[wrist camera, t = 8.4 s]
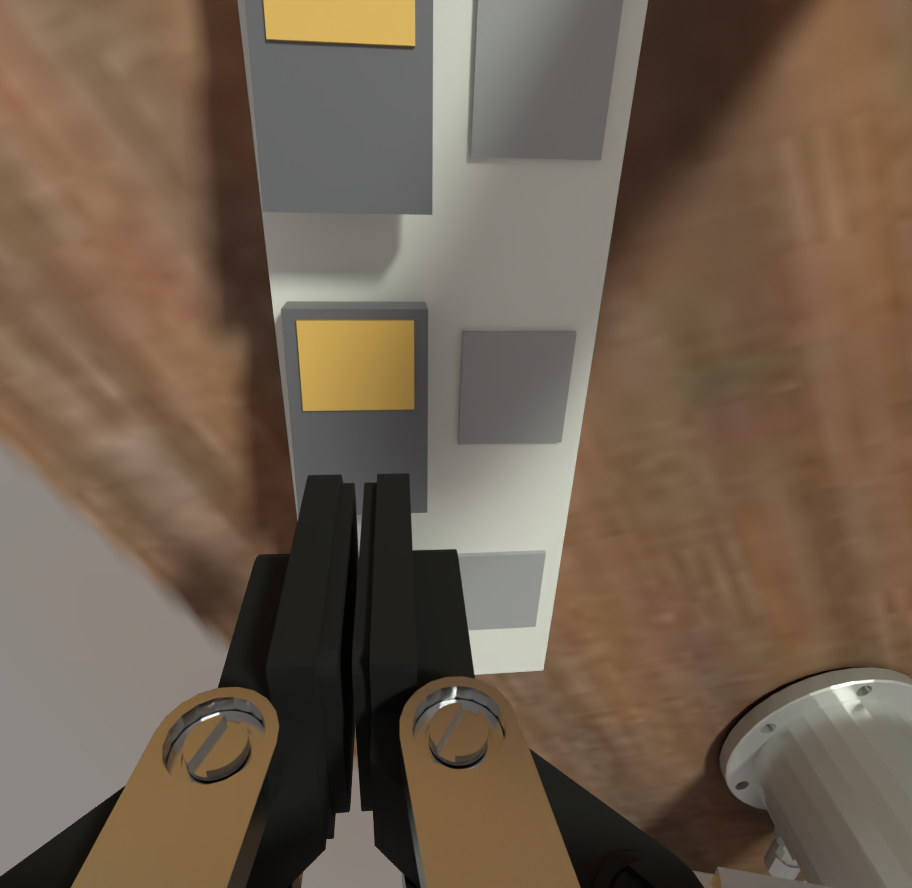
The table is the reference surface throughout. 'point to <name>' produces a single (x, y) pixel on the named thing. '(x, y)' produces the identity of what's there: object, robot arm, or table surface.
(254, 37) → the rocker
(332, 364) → the middle rocker
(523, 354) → the power strip
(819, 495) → the table surface
